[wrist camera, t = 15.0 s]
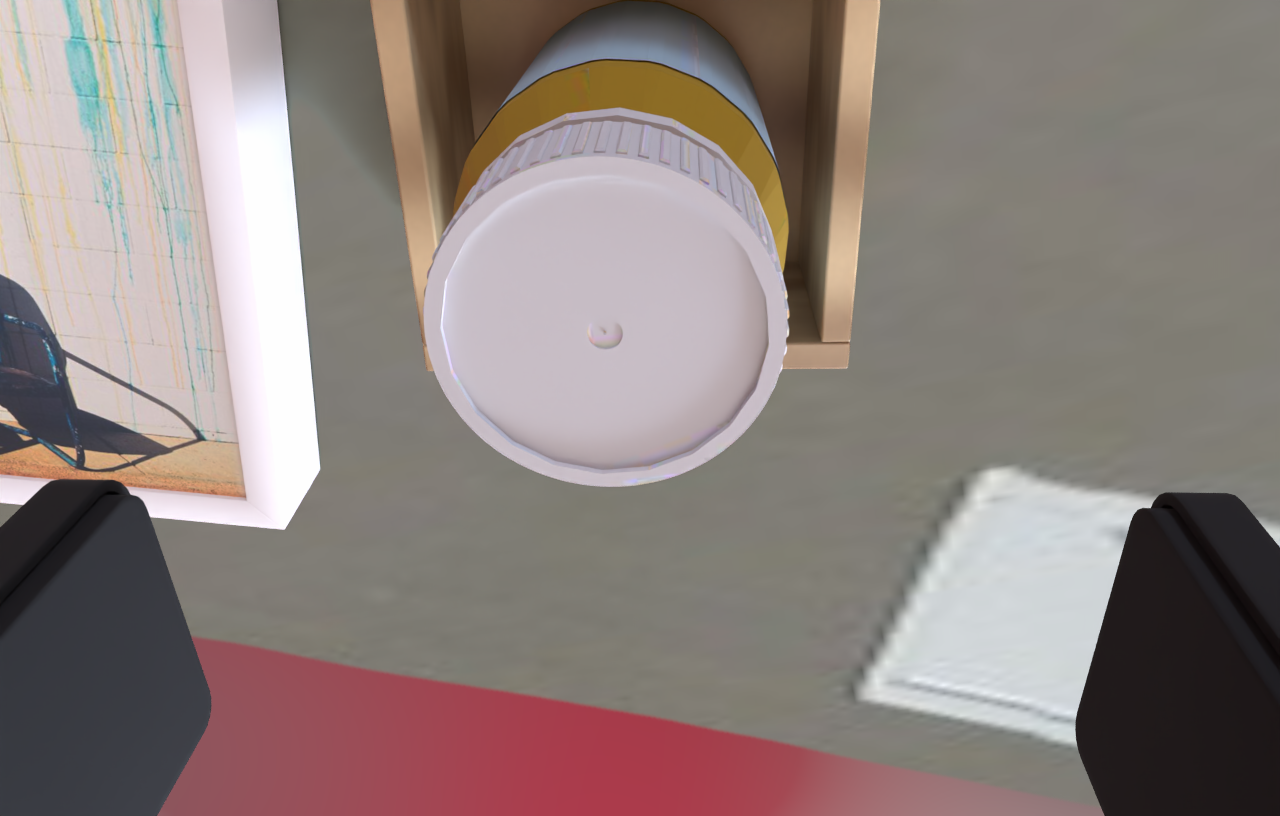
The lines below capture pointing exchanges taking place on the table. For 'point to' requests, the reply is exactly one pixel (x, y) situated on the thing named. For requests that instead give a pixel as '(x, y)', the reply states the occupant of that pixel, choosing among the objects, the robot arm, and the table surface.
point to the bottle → (615, 255)
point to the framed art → (152, 259)
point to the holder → (783, 82)
